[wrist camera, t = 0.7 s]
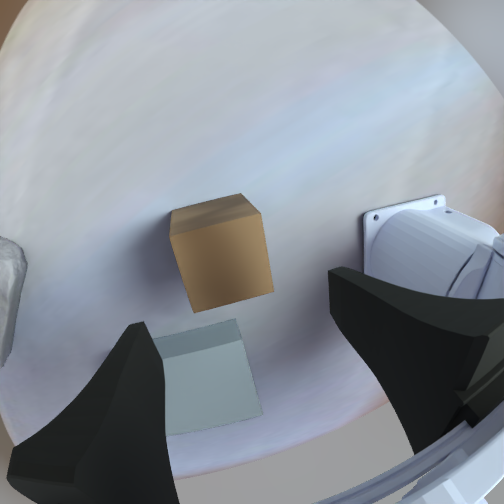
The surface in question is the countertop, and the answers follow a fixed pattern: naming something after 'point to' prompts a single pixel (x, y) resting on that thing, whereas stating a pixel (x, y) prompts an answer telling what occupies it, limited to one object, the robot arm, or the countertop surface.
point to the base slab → (206, 379)
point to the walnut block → (221, 252)
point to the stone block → (9, 292)
